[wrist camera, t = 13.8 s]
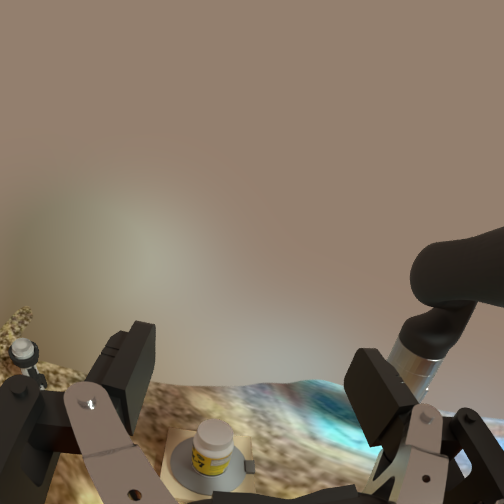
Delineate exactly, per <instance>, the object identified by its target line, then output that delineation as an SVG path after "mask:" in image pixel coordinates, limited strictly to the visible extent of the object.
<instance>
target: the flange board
mask: <svg viewBox="0 0 504 504" xmlns="http://www.w3.org/2000/svg"><path fill="white" fill-rule="evenodd" d="M196 432H197V431H191V430H185V429H178V428H173V427H169V429H168V435H167V440H166V446H165V451H164V457H163V462H162V468H161V474H160V479H161V480H162V482H163V483H164V485H165V486H166V487H167V489H168V490H169V492H170V493H171V494H172V496H173V497H174V498H175V500H176V501H181V502H188V503H190V502H193V501H198V500H203V499H211V497H212V493H213V491H223V492H242V493H255V494H256V491H255V480H254V473H255V464H254V460H253V456H252V444H251V437H249V436H235V435H233V441H234V448H233V451H232V455H231V458H230V462H229V465H228V468H227V470H226V472H225V473H224V474H222V475H221V476H218V477H213V478H210V477H205V476H202V475H200V474H198V473H197V472H196V471H195V470H194V468H193V466H192V461H191V460H192V448H193V438H194V435H195V434H196Z"/></svg>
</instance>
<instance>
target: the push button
mask: <svg viewBox="0 0 504 504" xmlns="http://www.w3.org/2000/svg"><path fill="white" fill-rule="evenodd" d="M8 353H9V356H10V358H11V360H12V361H13V363H14V364H15V365H16V366H18V367H20V369H21V372H22V374H23V375H27V376H29V377H32V378H33V379H34V380H35V381H36V382H37V383H38V385H39V388H40V390H44V388H46V387H47V382H46V379H45V376H44V374H40V373H39V372H38V370H37V367H36V363H37V362H38V358H39V349H38V346H37V345H36V344H35V343H34V342H32V341H30V340H29V339H26V338H19V339H16V340H15V341H14V342H13V343H12V345H11V346H10V348H9V351H8Z"/></svg>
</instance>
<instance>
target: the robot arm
mask: <svg viewBox="0 0 504 504" xmlns="http://www.w3.org/2000/svg"><path fill="white" fill-rule="evenodd" d="M410 284H411V289H412V291H413V294H414V295H415V297H416V298H417V299H418V300H419V301H420V302H421V303H423V304H425V305H427V306H431V307H434V308H433V309H432V310H430V311H428V312H426V313H424V314H421V315H417V316H414V317H411V318H409V319H407V320H406V321H405V323H404V325H403V326H402V329H401V331H400V333H399V335H398V338H397V340H396V342H395V344H394V346H393V348H392V351H391V353H390V355H389V357H388V359H387V361H386V360H385V359H384V358H383V357H382V355H381V354H380V352H379V351H378V349H376V348H359V349H358V350H357V352H356V353H355V356H354V358H353V360H352V362H351V364H350V367H349V369H348V371H347V373H346V375H345V378H344V390H345V392H346V394H347V396H348V399H349V401H350V403H351V405H352V408H353V410H354V412H355V414H356V417H357V419H358V421H359V423H360V426H361V428H362V430H363V433H364V435H365V437H366V439H367V442H368V444H369V446H370V447H375V446H380V445H381V446H382V448H383V449H382V450H381V451H380V452H379V454H378V457H377V460H376V462H375V465H374V467H373V470H372V473H371V475H370V477H369V480H368V482H367V485H366V487H365V488H364V490H363V491H362V492H361V493H360V492H357V490H356V487H355V484H353V485H347V486H341V487H334V488H327V489H322V490H320V491H317V492H314V493H311V494H308V495H305V496H302V497H298V498H295V499H281V498H275V497H270V496H264V495H259V494H255V493H242V492H223V491H213V493H212V497H211V499H203V500H198V501H193V502H190V503H187V504H504V451H503V449H502V448H501V446H500V445H499V443H498V442H497V440H496V439H495V437H494V436H493V434H492V433H491V431H490V430H489V428H488V427H487V425H486V424H485V423H484V421H483V420H482V418H481V417H480V416H479V415H478V413H477V412H475V411H474V410H472V409H470V408H461V409H459V410H458V412H457V413H456V414H455V416H454V417H442V415H441V414H440V412H439V411H438V410H437V409H436V408H434V407H433V406H431V405H428V404H420V403H421V401H422V400H423V398H424V397H425V395H426V393H427V392H428V386H429V384H430V383H431V381H432V379H433V378H434V376H435V374H436V373H437V370H438V369H439V367H440V365H441V364H442V362H443V360H444V358H445V356H446V354H447V353H448V351H449V349H450V348H451V347H453V345H455V344H456V343H457V341H458V339H459V338H460V337H461V335H462V333H463V331H464V329H465V327H466V325H467V323H468V321H469V319H470V317H471V315H472V313H473V311H474V309H475V307H476V305H477V302H478V301H479V302H482V303H487V304H491V305H494V306H499V307H503V308H504V227H501V228H498V229H495V230H493V231H489V232H486V233H484V234H481V235H478V236H475V237H471V238H467V239H461V240H453V241H445V242H436V243H432V244H430V245H428V246H427V247H425V248H424V249H423V250H422V251H421V252H420V253H419V254H418V256H417V257H416V259H415V261H414V263H413V265H412V268H411V272H410ZM155 337H156V327H155V324H150V323H145V322H141V321H135V322H134V324H133V325H132V327H131V329H130V331H129V332H125V331H119V332H118V333H116V334H114V335H113V336H111V337H110V339H109V340H108V342H107V344H106V345H105V348H104V349H103V350H102V352H101V355H99V357H98V359H97V360H96V362H95V363H94V365H93V367H92V369H91V370H90V372H89V374H88V375H87V377H86V379H85V381H84V382H78V383H75V384H73V385H71V386H70V387H69V388H68V389H67V390H66V391H65V392H57V391H47V390H40V388H39V385H38V383H37V382H36V381H35V380H34V379H33V378H32V377H29V376H27V375H14V376H12V377H9V378H8V379H7V380H5V382H4V383H3V384H2V386H1V387H0V504H45V500H46V496H47V493H48V490H49V486H50V483H51V480H52V477H53V474H54V471H55V468H56V465H57V462H58V459H59V456H60V453H70V454H82V455H83V460H84V463H85V465H86V468H87V470H88V472H89V474H90V477H91V479H92V481H93V483H94V485H95V487H96V489H97V491H98V493H99V495H100V497H101V499H102V501H103V503H104V504H179V503H178V502H177V501H176V500H175V498H174V497H173V496H172V494H171V493H170V492H169V490H168V489H167V487H166V486H165V485H164V483H163V482H162V480H161V479H160V478H159V476H158V475H157V473H156V472H155V470H154V469H153V467H152V466H151V464H150V462H149V461H148V459H147V458H146V456H145V455H144V453H143V451H142V450H141V449H140V447H139V446H138V445H137V444H134V443H133V442H132V440H131V439H130V437H129V435H131V436H133V434H134V430H135V427H136V424H137V420H138V417H139V414H140V410H141V407H142V404H143V401H144V398H145V395H146V392H147V388H148V385H149V382H150V379H151V376H152V373H153V370H154V365H155ZM462 449H463V450H464V452H465V453H466V455H467V457H468V459H469V460H470V462H471V464H472V470H471V473H470V474H469V475H468V476H467V477H466V478H464V476H463V474H462V472H461V470H460V468H459V466H458V465H457V463H456V461H455V459H454V457H455V456H456V455H457V454H458V453H459V452H460V451H461V450H462Z"/></svg>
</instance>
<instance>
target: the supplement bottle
mask: <svg viewBox="0 0 504 504" xmlns="http://www.w3.org/2000/svg"><path fill="white" fill-rule="evenodd" d="M233 448H234V441H233V429H232V428H231V426H230V425H229V424H228V423H226V422H225V421H222V420H219V419H207V420H204V421H203V422H201V423H200V425H199V426H198V429H197V432H196V434H195V435H194V438H193V448H192V460H191V461H192V466H193V468H194V470H195V471H196V472H197V473H198V474H200V475H202V476H205V477H210V478H213V477H218V476H221V475H222V474H224V473H225V472H226V470H227V468H228V465H229V462H230V458H231V455H232V451H233Z"/></svg>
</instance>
